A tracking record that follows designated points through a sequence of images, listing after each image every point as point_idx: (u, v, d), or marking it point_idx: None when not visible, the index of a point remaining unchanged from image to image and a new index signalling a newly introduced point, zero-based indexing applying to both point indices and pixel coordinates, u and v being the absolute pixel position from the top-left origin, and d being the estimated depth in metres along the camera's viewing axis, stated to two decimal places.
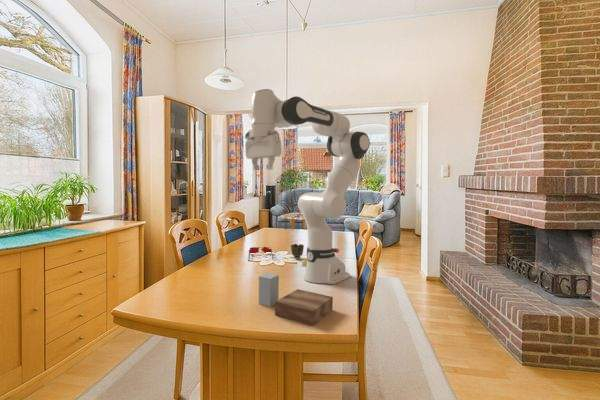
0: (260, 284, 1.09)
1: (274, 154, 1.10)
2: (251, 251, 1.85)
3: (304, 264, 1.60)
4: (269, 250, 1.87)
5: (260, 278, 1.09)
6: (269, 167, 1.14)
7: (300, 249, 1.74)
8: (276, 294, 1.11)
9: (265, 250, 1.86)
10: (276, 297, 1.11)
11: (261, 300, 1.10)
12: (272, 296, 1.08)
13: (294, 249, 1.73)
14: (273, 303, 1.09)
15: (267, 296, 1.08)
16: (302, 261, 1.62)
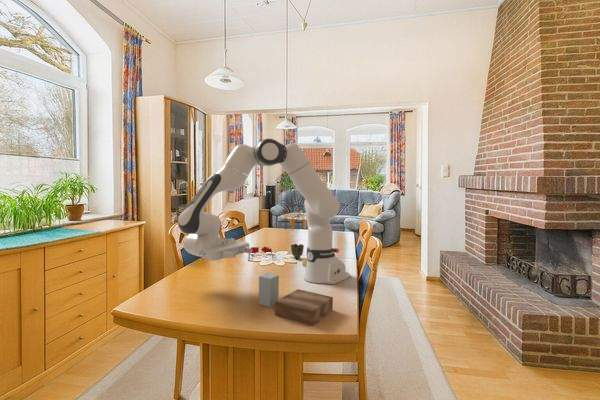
0: (260, 284, 1.09)
1: (213, 259, 1.11)
2: None
3: (304, 264, 1.60)
4: (269, 250, 1.87)
5: (260, 278, 1.09)
6: (231, 257, 1.12)
7: (300, 249, 1.74)
8: (276, 294, 1.11)
9: (265, 250, 1.87)
10: (276, 297, 1.11)
11: (261, 300, 1.10)
12: (272, 296, 1.08)
13: (294, 249, 1.73)
14: (273, 303, 1.09)
15: (267, 296, 1.08)
16: (302, 261, 1.62)
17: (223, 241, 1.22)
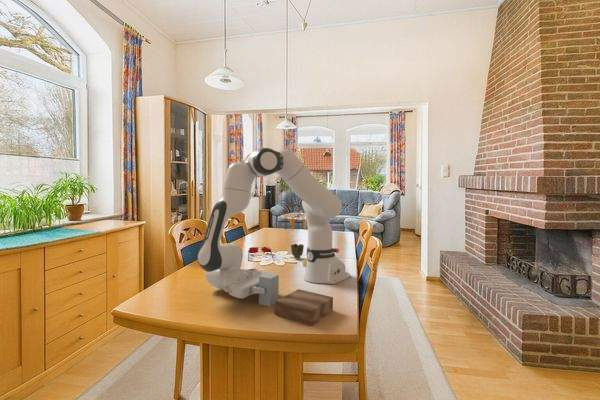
0: (260, 284, 1.09)
1: (241, 297, 1.05)
2: (250, 251, 1.85)
3: (305, 264, 1.60)
4: (268, 250, 1.87)
5: (260, 278, 1.09)
6: (262, 292, 1.07)
7: (300, 249, 1.74)
8: (276, 294, 1.11)
9: (264, 250, 1.87)
10: (276, 297, 1.11)
11: (261, 300, 1.10)
12: (272, 296, 1.08)
13: (294, 249, 1.73)
14: (273, 303, 1.09)
15: (267, 296, 1.08)
16: (303, 261, 1.62)
17: (248, 274, 1.16)
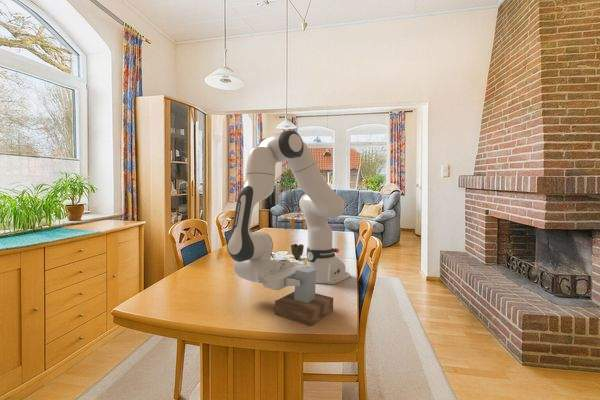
0: None
1: (277, 288, 0.97)
2: None
3: (306, 264, 1.60)
4: None
5: (297, 272, 1.01)
6: (297, 285, 0.98)
7: (300, 249, 1.74)
8: (313, 290, 1.03)
9: None
10: (313, 293, 1.03)
11: (297, 295, 1.02)
12: (309, 291, 1.00)
13: (294, 249, 1.73)
14: (310, 299, 1.01)
15: (304, 291, 1.00)
16: (304, 261, 1.62)
17: (281, 265, 1.08)
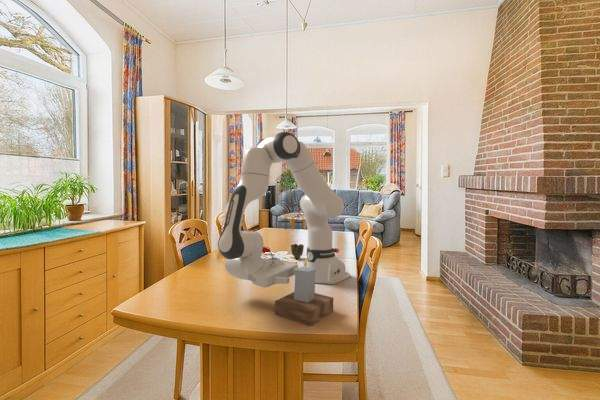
0: (297, 278, 1.02)
1: (266, 285, 0.99)
2: None
3: (306, 264, 1.60)
4: (267, 250, 1.87)
5: (297, 271, 1.02)
6: (285, 282, 1.00)
7: (300, 249, 1.74)
8: (313, 289, 1.03)
9: (263, 250, 1.87)
10: (313, 292, 1.03)
11: (296, 295, 1.02)
12: (309, 291, 1.01)
13: (294, 249, 1.73)
14: (310, 299, 1.01)
15: (304, 291, 1.00)
16: (304, 261, 1.62)
17: (271, 263, 1.10)
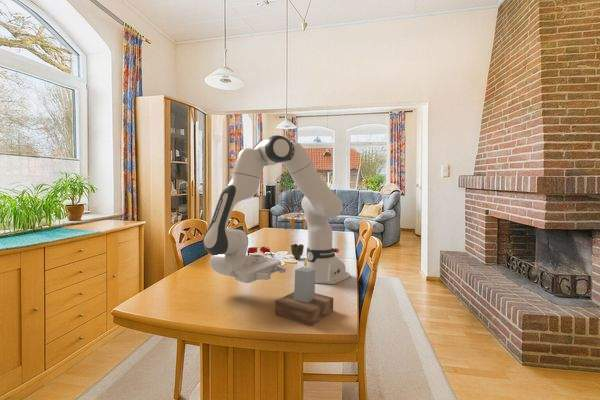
0: (296, 279, 1.02)
1: (247, 281, 1.03)
2: (249, 251, 1.85)
3: (306, 264, 1.60)
4: (267, 250, 1.87)
5: (296, 272, 1.02)
6: (266, 278, 1.04)
7: (300, 249, 1.74)
8: (313, 289, 1.03)
9: (263, 250, 1.87)
10: (313, 293, 1.03)
11: (296, 295, 1.02)
12: (309, 291, 1.01)
13: (294, 249, 1.73)
14: (310, 299, 1.01)
15: (304, 291, 1.00)
16: (304, 261, 1.62)
17: (254, 260, 1.14)
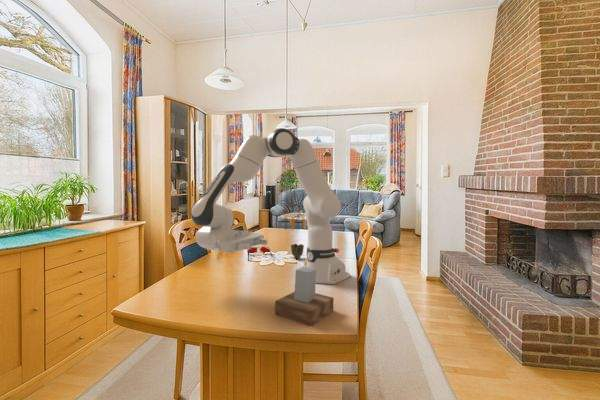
0: (297, 279, 1.02)
1: (229, 251, 1.07)
2: (249, 251, 1.85)
3: (306, 264, 1.60)
4: (267, 250, 1.87)
5: (297, 272, 1.01)
6: (247, 248, 1.09)
7: (300, 249, 1.74)
8: (313, 289, 1.03)
9: (263, 250, 1.87)
10: (313, 293, 1.03)
11: (297, 295, 1.02)
12: (309, 291, 1.01)
13: (294, 249, 1.73)
14: (310, 299, 1.01)
15: (304, 291, 1.00)
16: (304, 261, 1.62)
17: (237, 233, 1.19)
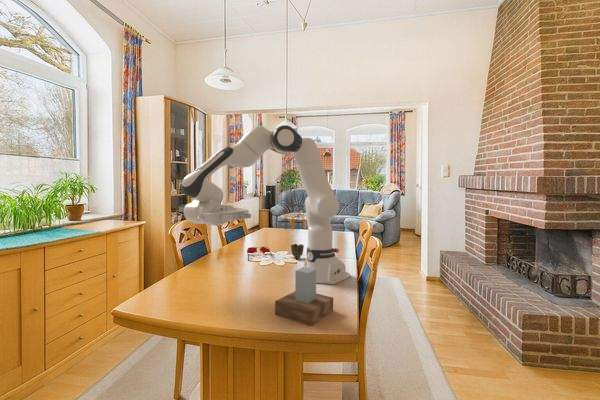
0: (297, 279, 1.01)
1: (212, 221, 1.12)
2: (249, 251, 1.85)
3: (306, 264, 1.60)
4: (267, 250, 1.87)
5: (297, 272, 1.01)
6: (230, 219, 1.13)
7: (300, 249, 1.74)
8: (314, 289, 1.03)
9: (263, 250, 1.87)
10: (314, 293, 1.03)
11: (297, 296, 1.02)
12: (310, 292, 1.00)
13: (294, 249, 1.73)
14: (311, 299, 1.01)
15: (305, 292, 1.00)
16: (304, 261, 1.62)
17: (222, 207, 1.23)
